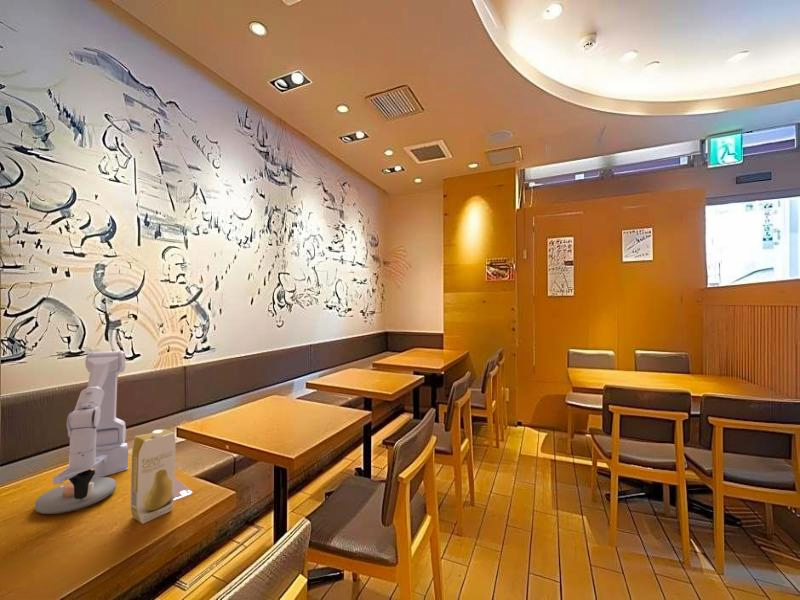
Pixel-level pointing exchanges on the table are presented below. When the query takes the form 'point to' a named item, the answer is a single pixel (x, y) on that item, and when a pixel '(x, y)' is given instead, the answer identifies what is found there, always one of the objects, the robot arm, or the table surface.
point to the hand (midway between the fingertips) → (80, 497)
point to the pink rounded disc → (68, 490)
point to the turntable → (59, 504)
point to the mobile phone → (180, 490)
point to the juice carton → (152, 475)
